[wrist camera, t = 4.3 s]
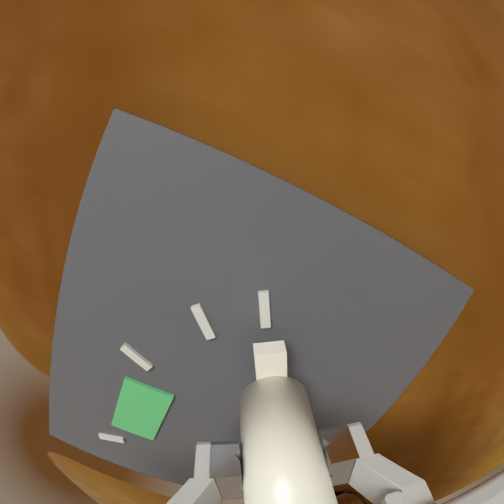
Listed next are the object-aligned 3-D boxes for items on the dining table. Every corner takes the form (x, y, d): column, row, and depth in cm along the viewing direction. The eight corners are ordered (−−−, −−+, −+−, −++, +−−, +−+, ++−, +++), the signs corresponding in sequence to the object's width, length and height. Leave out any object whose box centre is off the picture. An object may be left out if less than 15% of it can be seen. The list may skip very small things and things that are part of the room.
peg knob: (303, 462, 16) (325, 563, 9) (245, 469, 16) (252, 573, 9) (310, 328, 13) (370, 482, 6) (222, 337, 12) (219, 505, 5)
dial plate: (127, 112, 11) (112, 108, 9) (458, 278, 14) (476, 291, 13) (56, 419, 16) (48, 436, 15) (284, 486, 20) (287, 503, 18)
